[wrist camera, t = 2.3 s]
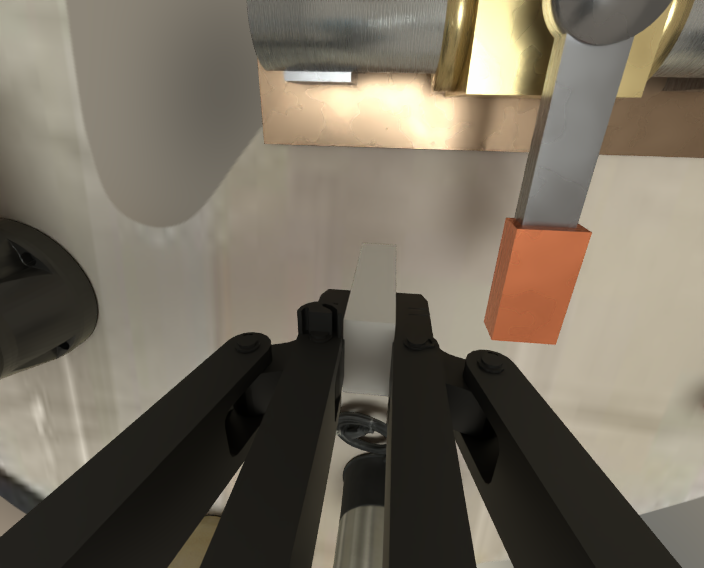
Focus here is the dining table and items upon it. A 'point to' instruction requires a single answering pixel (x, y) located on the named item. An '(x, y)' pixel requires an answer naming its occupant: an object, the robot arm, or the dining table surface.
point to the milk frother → (361, 495)
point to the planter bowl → (196, 544)
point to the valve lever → (562, 165)
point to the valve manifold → (459, 76)
